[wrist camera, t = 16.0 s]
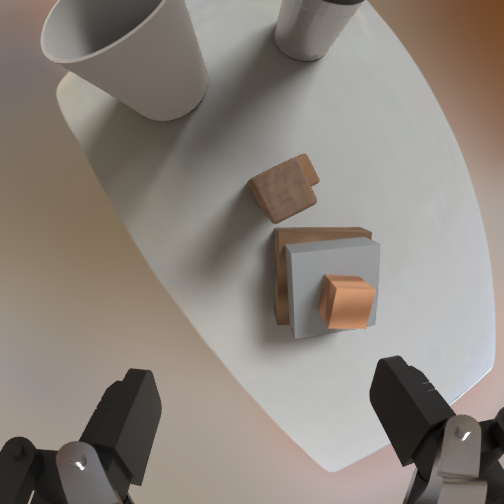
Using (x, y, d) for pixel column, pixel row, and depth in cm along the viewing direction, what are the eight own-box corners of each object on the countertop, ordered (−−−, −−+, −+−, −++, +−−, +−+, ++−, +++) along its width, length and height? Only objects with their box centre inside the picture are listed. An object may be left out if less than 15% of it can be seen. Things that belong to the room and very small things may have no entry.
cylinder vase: (207, 48, 34) (178, -58, 10) (211, 115, 37) (173, 33, 13) (133, 63, 34) (56, -13, 10) (133, 129, 37) (31, 86, 13)
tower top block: (284, 244, 38) (291, 253, 33) (364, 236, 38) (379, 243, 33) (289, 321, 41) (295, 338, 36) (362, 310, 41) (374, 325, 36)
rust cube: (324, 274, 34) (336, 288, 29) (359, 276, 34) (375, 290, 29) (317, 310, 35) (328, 328, 30) (351, 311, 35) (365, 328, 30)
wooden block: (299, 155, 39) (340, 136, 22) (312, 181, 40) (361, 181, 23) (246, 181, 40) (249, 179, 23) (260, 208, 41) (273, 226, 24)
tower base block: (274, 227, 42) (278, 233, 37) (358, 226, 43) (371, 232, 38) (273, 310, 46) (277, 324, 41) (351, 305, 46) (362, 317, 41)
